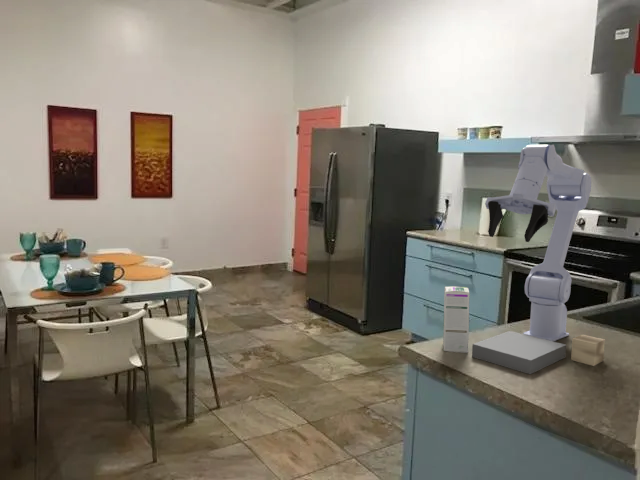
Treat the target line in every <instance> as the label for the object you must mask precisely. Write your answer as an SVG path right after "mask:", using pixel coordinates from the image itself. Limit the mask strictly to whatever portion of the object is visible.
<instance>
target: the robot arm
mask: <svg viewBox="0 0 640 480" xmlns="http://www.w3.org/2000/svg"><path fill="white" fill-rule="evenodd" d="M519 158H520V159H519V162H518V166H517V167H518V172H517V174H516V177H515V180H514V181H513V185H512V188H511V191H510V192H509V194H508V195H507V194H506V195H502V196H494V197H493V196H488V197H486V200H485V201H484V202H485V203H484V204H485V207H486V209H487V210H488V212H489V225H488V229H487V232H488V236H489V237H491V238H493V237H494V236H495V234H496V231H497V228H498V226H499V225H500V222H501V221H502V220H503V219H504V213H503V211H502V210H507V211H508V212H512V213H514V214H515V213H516V214H518V215H530V219H529V222H528V224H527V226H526V228H525V232H524V241H525V243H530V241H531V240H532V239H533V237H534V235H535V234H536V233H537V232H538V231H540V229H541V228H542V227H544V226H546V225H547V224H548V222H549V217H554V216H555V213H556V216H555V219H554V222H553V223H554V224H553V227H552V231H551V233H550V238H549V241H548V245H547V248H546V251H545V255H544V259H543V262H542V263H539V264H537V265H535V266H532V268H531V269H530V272H529V274H528V276H527V277H526V279H525V283H524V294H525V295H526V297H527V298H529V299H528V300H529V301H528V302H531V304H530V319H529V330H526V331H524V332H522V334H525V335H529V336H533V337H537V338H541V339H545V340H549V341H553V342H557V341H558V340H561V339H563V338H565V337H568V336H569V335H570V333H569V332H566V331H567V321H568V320H567V318H568V309H567V306H566V305H565V303H566V302H568V301H569V298H570V295H571V288H572V287H571V286H572V282H573V281H572V276H571V274H570V272H569V271H568V270H567V269H566V268H565V267H564V265H565V260H566V258H567V253H568V250H569V245H570V241H571V239H572V236H573V232H574V227H575V223H576V221H577V218H578V216H579V215H578V214H579V212H580V211H582V210H585V209H586V207H587V205H588V203H589V199H590V194H591V193H592V177H591V175H590V174H589V173H588V172H585V170H584V169H582V168H578V167H575V166H572V165H568V164H566V163H564V161H563V158H562V157H561V156H560V154H558V153H557V151H556V147H555V144H528V145H526V146H524V147H522V148H521V151H520V156H519ZM546 177H547V178H546ZM545 178H546V179H547V180H546V192H547V196H548V202H546V201H543V200H541V199H538V198H539V195H540V192H541V189H542V186H543V185H544V184H543V183H544V181H545Z"/></svg>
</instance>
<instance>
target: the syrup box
mask: <svg viewBox="0 0 640 480" xmlns="http://www.w3.org/2000/svg"><path fill="white" fill-rule="evenodd" d="M470 294H471V293H470V290H469V287H466V286H458V285H457V286H453V285H452V286H444V295H443V332H442V333H443V335H442V340H443V341H442V342H443V343H442V344H443V345H442V346H443V349H442V350H443V351H445V352H450V353H465V354H466V353H468V352H469V336H470V335H469V334H470V333H469V331H470V296H471V295H470Z"/></svg>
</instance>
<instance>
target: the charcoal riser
mask: <svg viewBox="0 0 640 480" xmlns="http://www.w3.org/2000/svg"><path fill="white" fill-rule="evenodd" d="M471 351H472V352H471V354H472V355H471V357H472V358H474V359H475V358H476V359H479V360H481V361H486V362H488V363H492V364H493V365H494V364H495V365H499V366H502V367H504V368H508V369H511V370H515V371H518V372H522V373H525V374H528V375H532V374H534V373H535V372H538V371H540V370H542V369H544V368H546V367H548V366H550V365H553V364H555V363H556V362H557V363H558V361H561V360H564V359H565V358H566V355H567V344H564V343H561V342H557V341H549V340H545V339H541V338H537V337H533V336H529V335H525V334H523V333H520V332H516V331H512V330H508V331H506V332H502V333H500V334H496V335H494V336H490V337H489V338H486V339H483V340H481V341H477V342H475V343H472V349H471Z"/></svg>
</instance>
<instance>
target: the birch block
mask: <svg viewBox="0 0 640 480" xmlns="http://www.w3.org/2000/svg"><path fill="white" fill-rule="evenodd" d="M605 345H606V339H605V338H600V337H595V336H590V335H587V334H584V333H583V334H580V335H578V336H576V337H575V336H574V337H573V338H572V341H571V352H570V357H571V358H570V360H571V361H575V362H578V363H580V364H585V365H589V366H593V367H595V366H596V365H598V364H600V363H602V362H604V359H605V358H604V357H605Z"/></svg>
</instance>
